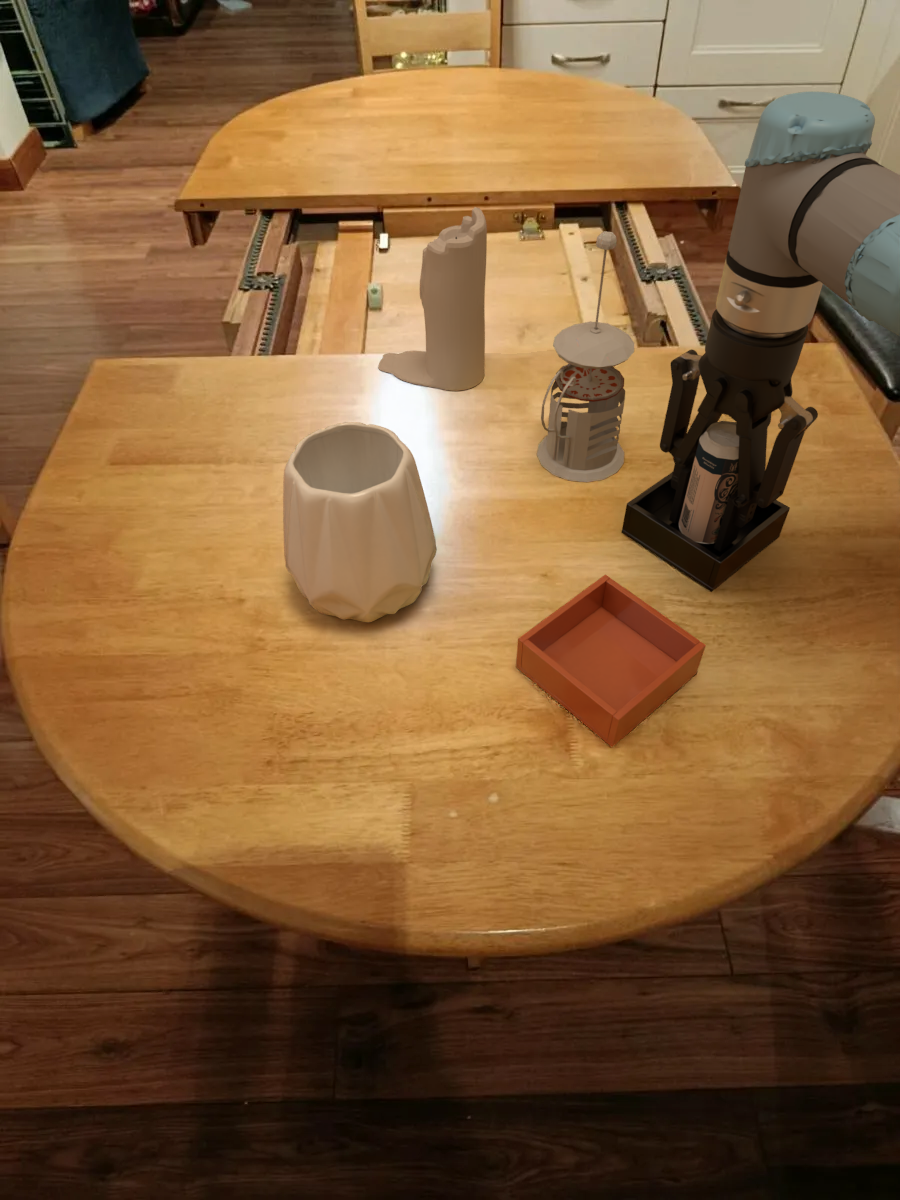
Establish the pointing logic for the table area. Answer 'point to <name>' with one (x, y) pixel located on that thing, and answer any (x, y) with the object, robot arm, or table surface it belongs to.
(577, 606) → the terracotta bin
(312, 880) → the table surface
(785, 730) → the table surface
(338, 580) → the vase
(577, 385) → the french press
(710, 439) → the beer can
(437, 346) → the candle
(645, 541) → the black bin
